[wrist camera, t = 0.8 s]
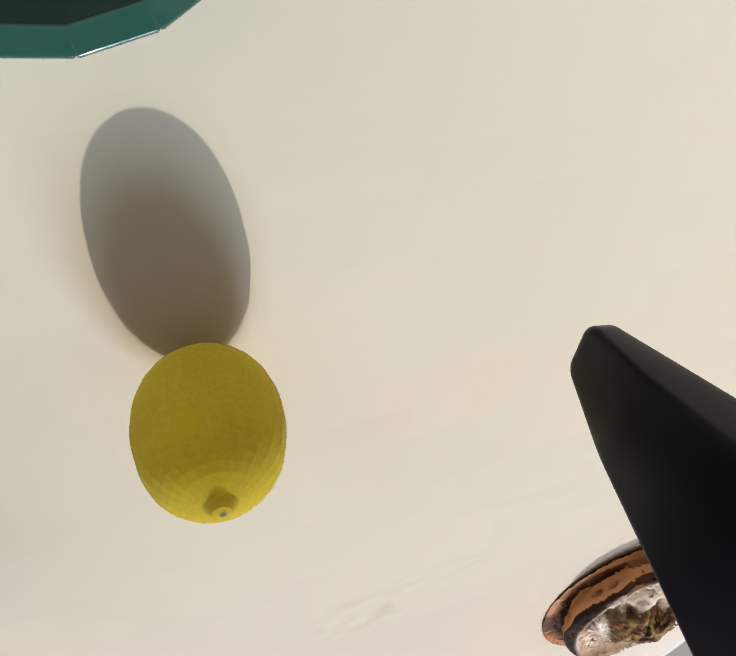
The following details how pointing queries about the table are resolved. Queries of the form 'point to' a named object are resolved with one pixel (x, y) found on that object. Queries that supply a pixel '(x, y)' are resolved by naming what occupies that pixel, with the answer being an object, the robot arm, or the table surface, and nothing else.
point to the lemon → (207, 432)
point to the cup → (80, 25)
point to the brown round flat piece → (611, 610)
